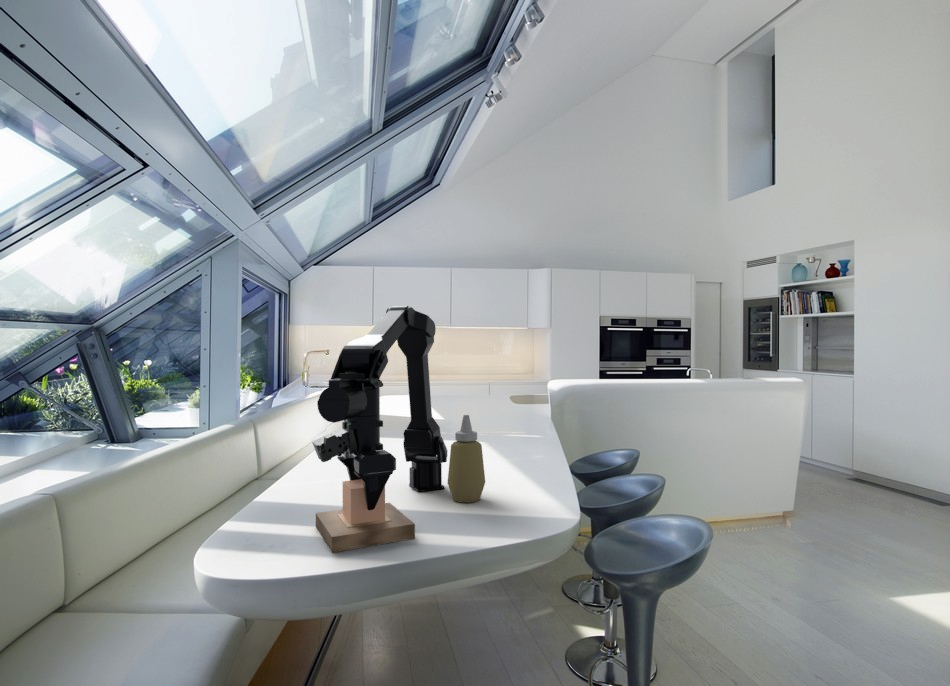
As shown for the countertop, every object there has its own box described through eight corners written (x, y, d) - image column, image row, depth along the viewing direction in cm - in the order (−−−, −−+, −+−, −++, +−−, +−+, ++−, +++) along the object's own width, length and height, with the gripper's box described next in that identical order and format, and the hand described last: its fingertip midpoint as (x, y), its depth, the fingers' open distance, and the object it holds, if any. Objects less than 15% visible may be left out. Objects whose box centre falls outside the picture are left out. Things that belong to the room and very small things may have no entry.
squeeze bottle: (490, 496, 119) (489, 413, 119) (478, 506, 111) (478, 418, 112) (455, 493, 122) (455, 412, 122) (441, 503, 114) (441, 416, 114)
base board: (389, 515, 106) (389, 501, 106) (414, 538, 93) (414, 522, 93) (315, 526, 100) (315, 512, 100) (332, 552, 87) (332, 536, 87)
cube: (375, 510, 101) (375, 477, 101) (385, 519, 95) (384, 485, 95) (342, 514, 98) (342, 481, 98) (350, 524, 93) (350, 489, 93)
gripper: (307, 411, 101) (307, 495, 101) (327, 424, 85) (328, 525, 85) (366, 408, 106) (366, 488, 106) (396, 420, 90) (397, 515, 90)
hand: (363, 502), depth 97 cm, fingers open, 9 cm apart
